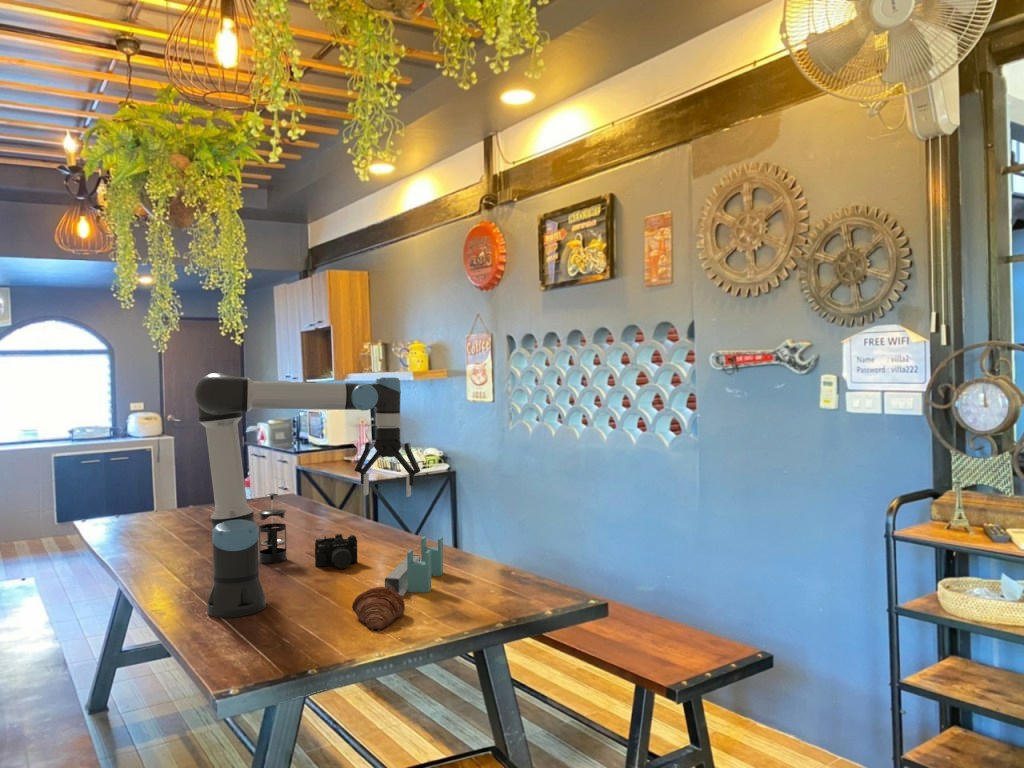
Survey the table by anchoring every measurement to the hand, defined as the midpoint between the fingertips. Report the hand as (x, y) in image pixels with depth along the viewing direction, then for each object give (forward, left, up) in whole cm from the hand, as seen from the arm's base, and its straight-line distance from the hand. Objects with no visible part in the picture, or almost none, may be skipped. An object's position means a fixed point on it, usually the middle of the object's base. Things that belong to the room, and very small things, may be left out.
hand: (387, 495), depth 233 cm
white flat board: (-2, -5, -26) cm, 27 cm away
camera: (+14, +21, -26) cm, 37 cm away
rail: (-2, -5, -26) cm, 26 cm away
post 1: (-11, -12, -26) cm, 31 cm away
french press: (+21, +47, -26) cm, 58 cm away
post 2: (+7, -12, -26) cm, 30 cm away
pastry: (-36, -7, -27) cm, 45 cm away
